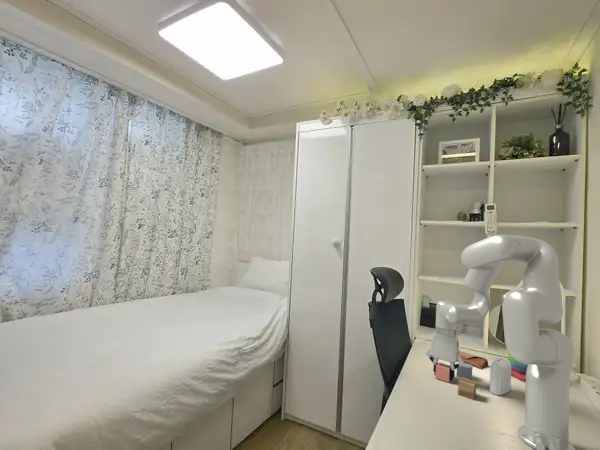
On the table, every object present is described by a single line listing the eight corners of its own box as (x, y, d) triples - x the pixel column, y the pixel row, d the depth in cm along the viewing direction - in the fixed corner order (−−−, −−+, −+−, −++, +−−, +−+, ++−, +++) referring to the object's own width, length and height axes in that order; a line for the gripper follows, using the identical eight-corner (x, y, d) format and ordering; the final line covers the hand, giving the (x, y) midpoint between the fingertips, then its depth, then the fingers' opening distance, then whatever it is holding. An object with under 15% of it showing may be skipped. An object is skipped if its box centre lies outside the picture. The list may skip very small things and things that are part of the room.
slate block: (469, 380, 121) (470, 368, 121) (456, 376, 124) (456, 364, 124) (472, 377, 125) (472, 365, 125) (458, 373, 128) (459, 361, 128)
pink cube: (448, 382, 117) (449, 369, 117) (435, 378, 120) (435, 365, 120) (451, 378, 120) (452, 366, 121) (438, 374, 124) (439, 362, 124)
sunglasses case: (442, 357, 146) (445, 344, 149) (446, 361, 150) (449, 349, 153) (483, 370, 133) (486, 355, 136) (486, 374, 137) (489, 360, 140)
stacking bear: (499, 372, 133) (501, 332, 134) (513, 369, 137) (514, 331, 138) (526, 383, 123) (527, 339, 124) (540, 380, 127) (541, 338, 128)
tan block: (473, 400, 104) (474, 386, 105) (457, 395, 107) (458, 381, 108) (475, 395, 108) (476, 381, 108) (460, 390, 111) (461, 376, 112)
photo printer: (499, 386, 117) (500, 354, 118) (512, 391, 114) (513, 358, 115) (487, 391, 112) (488, 358, 113) (500, 397, 108) (501, 362, 109)
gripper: (470, 335, 119) (468, 381, 118) (426, 325, 130) (424, 367, 128) (466, 338, 113) (465, 387, 112) (421, 328, 124) (419, 372, 123)
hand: (443, 376), depth 120 cm, fingers closed on pink cube, 4 cm apart
